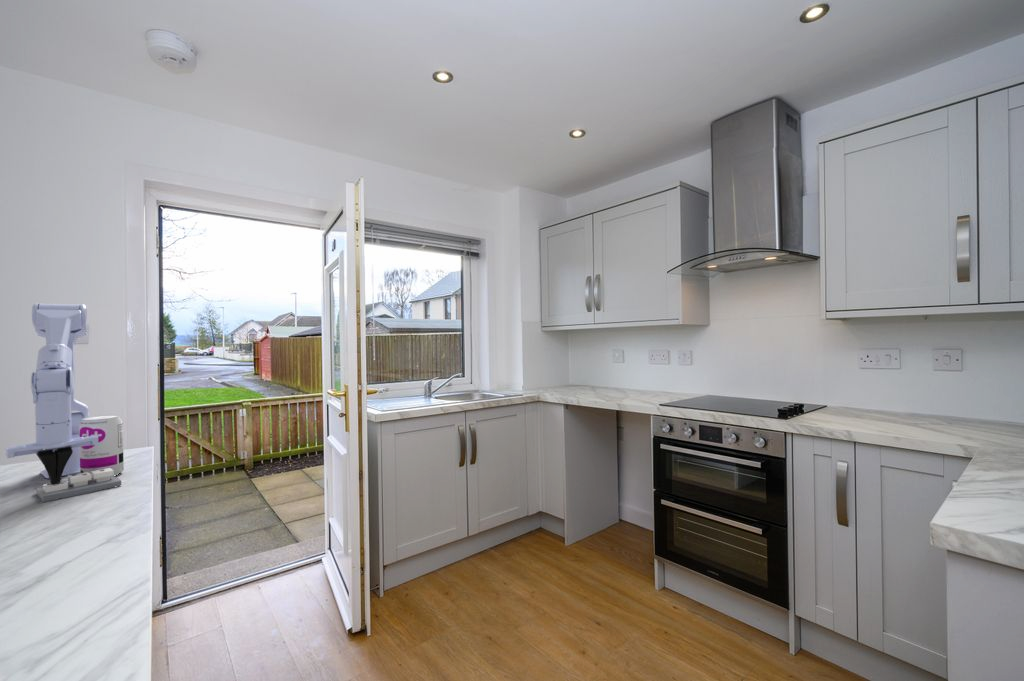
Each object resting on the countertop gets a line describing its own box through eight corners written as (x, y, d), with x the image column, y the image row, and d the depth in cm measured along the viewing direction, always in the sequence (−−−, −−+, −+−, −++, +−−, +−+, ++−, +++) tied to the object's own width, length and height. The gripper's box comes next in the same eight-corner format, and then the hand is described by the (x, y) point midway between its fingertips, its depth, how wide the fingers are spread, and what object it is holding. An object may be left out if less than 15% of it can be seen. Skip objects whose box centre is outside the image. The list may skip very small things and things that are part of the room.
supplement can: (103, 481, 112) (102, 420, 112) (70, 481, 113) (69, 420, 112) (132, 471, 121) (130, 414, 120) (101, 471, 121) (99, 414, 121)
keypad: (36, 493, 104) (36, 488, 104) (110, 478, 114) (110, 474, 114) (43, 502, 98) (43, 496, 98) (121, 485, 109) (121, 480, 109)
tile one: (90, 481, 109) (90, 470, 109) (109, 477, 112) (109, 467, 112) (94, 484, 107) (94, 473, 107) (113, 480, 110) (113, 469, 110)
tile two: (67, 485, 106) (67, 475, 106) (87, 482, 109) (87, 471, 109) (70, 488, 104) (70, 477, 104) (91, 484, 107) (91, 473, 107)
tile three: (43, 495, 103) (42, 483, 103) (64, 490, 105) (64, 479, 105) (46, 498, 101) (45, 486, 101) (68, 493, 103) (67, 482, 103)
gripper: (8, 430, 95) (10, 495, 95) (101, 419, 106) (102, 477, 106) (3, 426, 99) (5, 489, 99) (93, 416, 110) (94, 472, 111)
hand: (55, 482), depth 103 cm, fingers closed
